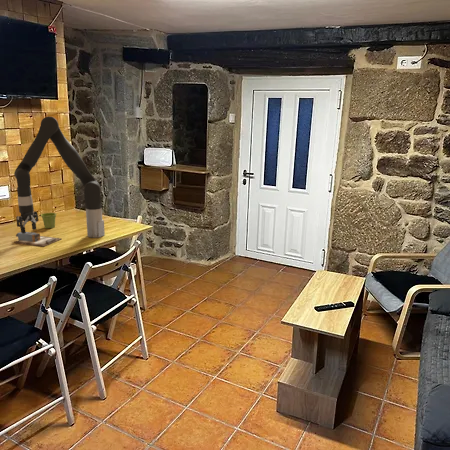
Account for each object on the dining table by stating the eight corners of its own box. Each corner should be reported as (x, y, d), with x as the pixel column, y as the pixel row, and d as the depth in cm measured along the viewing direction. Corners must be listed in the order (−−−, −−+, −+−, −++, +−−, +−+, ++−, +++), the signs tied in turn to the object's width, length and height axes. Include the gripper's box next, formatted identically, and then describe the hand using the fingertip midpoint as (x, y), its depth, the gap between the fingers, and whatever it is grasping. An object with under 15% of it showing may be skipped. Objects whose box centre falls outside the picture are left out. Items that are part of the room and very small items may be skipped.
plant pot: (38, 228, 270) (37, 214, 268) (50, 224, 279) (49, 212, 276) (48, 230, 266) (47, 216, 264) (60, 226, 274) (59, 213, 272)
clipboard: (61, 239, 248) (61, 236, 247) (44, 246, 234) (43, 243, 233) (33, 235, 253) (33, 233, 253) (14, 243, 239) (14, 239, 239)
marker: (40, 240, 243) (39, 233, 242) (35, 242, 239) (34, 235, 238) (20, 237, 247) (19, 230, 246) (14, 239, 243) (14, 232, 242)
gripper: (21, 206, 229) (25, 235, 234) (39, 201, 242) (43, 228, 247) (10, 206, 231) (14, 234, 236) (29, 200, 245) (32, 227, 249)
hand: (29, 231), depth 241 cm, fingers open, 8 cm apart
